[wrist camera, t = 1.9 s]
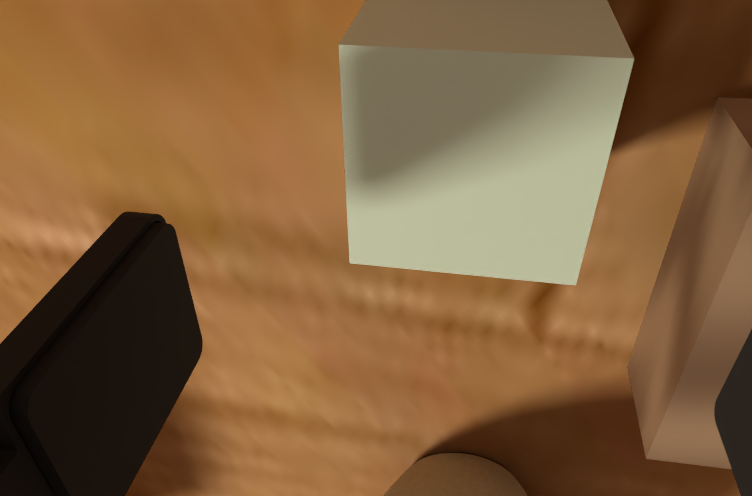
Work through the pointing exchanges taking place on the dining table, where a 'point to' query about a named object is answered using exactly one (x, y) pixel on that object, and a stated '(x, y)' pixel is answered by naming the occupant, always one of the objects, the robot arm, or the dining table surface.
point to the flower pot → (456, 478)
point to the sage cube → (479, 133)
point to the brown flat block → (699, 300)
